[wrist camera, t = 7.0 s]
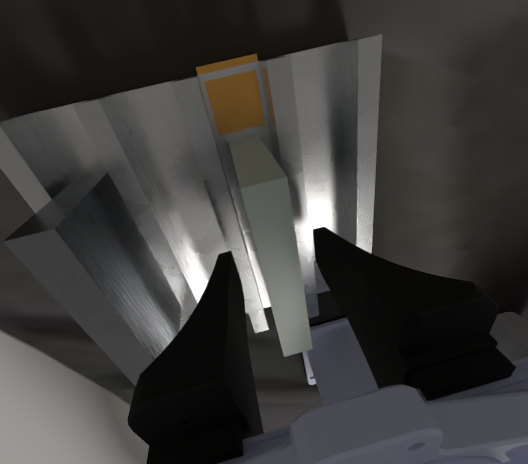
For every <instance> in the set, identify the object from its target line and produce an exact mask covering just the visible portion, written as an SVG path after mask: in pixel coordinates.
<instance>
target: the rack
mask: <svg viewBox="0 0 528 464" xmlns="http://www.w3.org/2000/svg"><path fill="white" fill-rule="evenodd" d="M381 50H382V34H380V35H374V36H368V37H363V38H357V39H351V40H346V41H342V42H338V43H333V44H329V45H325V46H320V47H316V48H312V49H307V50H303V51H299V52H294V53H290V54H285V55H281V56H277V57H272V58H268V59H264V60H259V61H258V58H257V54H252V55H248V56H244V57H239V58H235V59H230V60H226V61H222V62H217V63H213V64H209V65H204V66H200V67H196V71H197V74H198V75H194V76H190V77H185V78H181V79H177V80H172V81H168V82H164V83H159V84H155V85H151V86H146V87H142V88H138V89H133V90H129V91H124V92H120V93H116V94H111V95H107V96H103V97H98V98H94V99H90V100H85V101H81V102H77V103H72V104H68V105H64V106H59V107H55V108H51V109H46V110H42V111H37V112H33V113H29V114H24V115H20V116H16V117H12V118H9V119H5V120H1V121H0V168H1V170H2V171H3V172H4V173H5V175H6V176H7V177H8V179H9V180H10V181H11V182H12V184H13V185H14V186H15V188H16V189H17V190H18V191H19V193H20V194H21V195H22V197H23V198H24V199H25V200H26V202H27V203H28V204H29V206H30V207H31V208H32V209H33V211H34V212H35V213H36V214H34V215H33V216H32V217H31V218H30V219H29V220H27V221H26V222H25V223H24V224H23V225H22V226H21V227H19V228H18V229H17V230H16V231H15V232H14V233H12V234H11V235H10V236H9V237H8V238H7V239H5V240H4V241H3V242H4V244H5V245H6V246H7V247H8V248H9V249H10V250H11V251H12V252H13V253H14V254H15V256H16V257H17V258H18V259H19V260H20V261H21V262H22V263H23V264H24V265H25V266H26V267H27V269H28V270H29V271H30V272H31V273H32V274H33V275H34V276H35V277H36V278H37V279H38V281H39V282H40V283H41V284H42V285H43V286H44V287H45V288H46V289H47V290H48V291H49V292H50V294H51V295H52V296H53V297H54V298H55V299H56V300H57V301H58V302H59V303H60V304H61V306H62V307H63V308H64V309H65V310H66V311H67V312H68V313H69V314H70V315H71V316H72V317H73V319H74V320H75V321H76V322H77V323H78V324H79V325H80V326H81V327H82V328H83V329H84V331H85V332H86V333H87V334H88V335H89V336H90V337H91V338H92V339H93V340H94V341H95V342H96V344H97V345H98V346H99V347H100V348H101V349H102V350H103V351H104V352H105V353H106V354H107V356H108V357H109V358H110V359H111V360H112V361H113V362H114V363H115V364H116V365H117V366H118V367H119V369H120V370H121V371H122V372H123V373H124V374H125V375H126V376H127V377H128V378H129V379H130V381H131V382H132V383H133V384H134V385H135V386H136V384H137V381H138V379H139V375H140V374H141V373H142V372H143V371H144V370H145V369H146V368H147V367H148V366H149V365H150V364H151V363H152V362H153V361H154V360H155V359H156V358H157V357H158V356H159V355H160V354H161V353H162V352H163V350H164V349H165V348H166V347H167V346H168V345H169V344H170V342H171V341H172V340H173V339H174V338H175V336H176V335H177V334H178V333H179V331H180V330H181V329H182V327H183V326H184V324H185V323H186V321H187V320H188V318H189V317H190V315H191V314H192V312H193V311H194V309H195V307H196V306H197V304H198V302H199V300H200V298H201V296H202V294H203V292H204V290H205V288H206V286H207V284H208V282H209V279H210V277H211V274H212V272H213V269H214V266H215V263H216V260H217V257H218V255H219V254H220V253H224V252H228V251H232V254H233V257H234V260H235V263H236V266H237V269H238V273H239V276H240V279H241V282H242V288H243V293H244V298H245V312H246V313H249V316H250V319H251V322H252V325H253V328H254V331H255V333H258V332H262V331H265V330H269V328H268V324H267V319H266V315H265V311H264V308H267V307H270V306H271V304H270V300H269V297H268V293H267V289H266V285H265V281H264V277H263V273H262V270H261V266H260V262H259V258H258V254H257V250H256V247H255V243H254V239H253V235H252V231H251V227H250V224H249V220H248V216H247V212H246V208H245V204H244V200H243V197H242V193H241V189H240V185H239V181H238V177H237V173H236V170H235V166H234V162H233V158H232V154H231V150H230V146H229V143H233V142H237V141H241V140H245V139H249V138H253V137H258V136H259V137H260V139H261V140H262V142H263V143H264V144H265V146H266V147H267V149H268V150H269V152H270V153H271V154H272V156H273V157H274V159H275V160H276V162H277V163H278V164H279V166H280V167H281V169H282V170H283V172H284V173H285V174H286V176H287V178H288V185H289V192H290V198H291V205H292V212H293V219H294V225H295V232H296V239H297V246H298V252H299V259H300V266H301V273H302V279H303V286H304V293H305V300H306V306H307V313H308V319H309V318H312V317H316V316H319V307H318V298H317V294H318V293H322V292H325V291H329V290H330V289H329V287H328V285H327V284H326V282H325V280H324V279H323V277H322V275H321V272H320V270H319V268H318V265H317V263H316V260H315V250H314V241H313V231H312V230H313V229H316V228H320V227H326V228H327V229H329V230H331V231H332V232H334V233H335V234H337V235H339V236H340V237H342V238H343V239H345V240H347V241H348V242H350V243H352V244H354V245H355V246H357V247H359V248H361V249H363V250H365V251H367V252H369V253H372V233H373V213H374V192H375V172H376V152H377V132H378V111H379V91H380V71H381Z"/></svg>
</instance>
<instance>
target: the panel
mask: <svg viewBox="0 0 528 464" xmlns="http://www.w3.org/2000/svg"><path fill="white" fill-rule="evenodd" d="M229 146H230V150H231V154H232V158H233V162H234V166H235V170H236V173H237V177H238V181H239V185H240V189H241V193H242V197H243V200H244V204H245V208H246V212H247V216H248V220H249V224H250V227H251V231H252V235H253V239H254V243H255V247H256V250H257V254H258V258H259V262H260V266H261V270H262V273H263V277H264V281H265V285H266V289H267V293H268V297H269V300H270V304H271V308H272V312H273V316H274V320H275V323H276V327H277V331H278V335H279V339H280V343H281V347H282V350H283V354H284V357H286V356H289V355H293V354H296V353H300V352H303V351H307V350H310V349H313V347H312V340H311V333H310V327H309V320H308V313H307V306H306V300H305V293H304V286H303V279H302V273H301V266H300V259H299V252H298V246H297V239H296V232H295V225H294V219H293V212H292V205H291V198H290V192H289V185H288V178H287V176H286V174H285V173H284V172H283V170H282V169H281V167H280V166H279V164H278V163H277V162H276V160H275V159H274V157H273V156H272V154H271V153H270V152H269V150H268V149H267V147H266V146H265V144H264V143H263V142H262V140H261V139H260V137H259V136H258V137H253V138H249V139H245V140H241V141H237V142H233V143H229Z"/></svg>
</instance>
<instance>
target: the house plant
mask: <svg viewBox="0 0 528 464" xmlns="http://www.w3.org/2000/svg"><path fill="white" fill-rule="evenodd" d="M489 334H490V335H491V336H492V337H493V338H494V339H495V340H496V341H497V342H498V345H497V346H495V347H496V348H497V349H498V350H499V351H500V352H501V353H502V354H503V355H504V356H505V357H506V358H508V359H509V360H510V361H513V360H517V359H520V358H524V357H527V356H528V320H526V319H525V318H523V317H521V316H520V315H518V314H516V313H515V312H505V313H501V314H499V315H497V317H496V320H495V322H494V324H493V326H492V328H491V330H490V333H489Z"/></svg>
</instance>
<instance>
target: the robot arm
mask: <svg viewBox="0 0 528 464" xmlns="http://www.w3.org/2000/svg"><path fill="white" fill-rule="evenodd" d="M312 231H313V241H314V250H315V260H316V263H317V265H318V268H319V270H320V272H321V275H322V277H323V279H324V280H325V282H326V284H327V285H328V287H329V289H330V290H331V292H332V294H333V295H334V297H335V299H336V300H337V302H338V304H339V305H340V307H341V309H342V310H343V312H344V314H345V316H346V318H342V319H338V320H335V321H331V322H328V323H324V324H320V325H317V326H313V327H310V333H311V340H312V347H313V349H310V350H307V351H303V352H302V354H303V359H304V365H305V370H306V375H307V381H308V383H309V384H310V385H313V384H317V386H318V389H319V392H320V395H321V398H322V401H323V404H324V405H322V406H318V407H315V408H313V409H311V410H308V411H306V412H304V413H302V414H301V415H300V416H298V417H297V418H296V419H295V420H294V421H293V422H292V424H291V426H287V427H284V428H281V429H277V430H274V431H270V432H267V433H264V432H263V427H262V422H261V417H260V412H259V406H258V401H257V395H256V390H255V384H254V378H253V373H252V367H251V361H250V355H249V349H248V341H247V327H246V312H245V298H244V293H243V288H242V282H241V279H240V276H239V273H238V269H237V266H236V263H235V260H234V257H233V254H232V251H228V252H224V253H220V254H219V255H218V257H217V260H216V263H215V266H214V269H213V272H212V274H211V277H210V279H209V282H208V284H207V286H206V288H205V290H204V292H203V294H202V296H201V298H200V300H199V302H198V304H197V306H196V307H195V309H194V311H193V312H192V314H191V315H190V317H189V318H188V320H187V321H186V323H185V324H184V326H183V327H182V329H181V330H180V331H179V333H178V334H177V335H176V336H175V338H174V339H173V340H172V341H171V342H170V344H169V345H168V346H167V347H166V348H165V349H164V350H163V352H162V353H161V354H160V355H159V356H158V357H157V358H156V359H155V360H154V361H153V362H152V363H151V364H150V365H149V366H148V367H147V368H146V369H145V370H144V371H143V372H142V373H141V374H140V375H139V379H138V381H137V384H136V387H135V390H134V394H133V398H132V403H131V407H130V411H129V416H128V425H129V426H130V428H131V429H132V430H133V432H135V433H136V434H137V435H138V436H139V437H140V438H141V439H142V440H144V441H145V442H146V443H147V444H148V445H149V452H148V458H147V464H528V356H527V357H524V358H520V359H517V360H513V361H510V360H509V359H508V358H506V357H505V356H504V355H503V354H502V353H501V352H500V351H499V350H498V349H497V348H496V347H495V346H497V345H498V342H497V341H496V340H495V339H494V338H493V337H492V336H491V335H490V334H489V333H490V330H491V328H492V326H493V324H494V322H495V320H496V317H497V314H498V304H497V303H496V301H495V300H494V299H492V298H491V297H490V296H489V295H488V294H486V293H485V292H484V291H483V290H482V289H480V288H479V287H478V286H477V285H475V284H474V283H473V282H468V281H463V280H457V279H452V278H446V277H441V276H437V275H433V274H428V273H424V272H421V271H417V270H414V269H410V268H407V267H404V266H401V265H398V264H395V263H392V262H390V261H387V260H385V259H382V258H380V257H378V256H375V255H373V254H371V253H369V252H367V251H365V250H363V249H361V248H359V247H357V246H355V245H354V244H352V243H350V242H348V241H347V240H345V239H343V238H342V237H340V236H339V235H337V234H335V233H334V232H332V231H331V230H329V229H327V228H326V227H320V228H316V229H313V230H312Z"/></svg>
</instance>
